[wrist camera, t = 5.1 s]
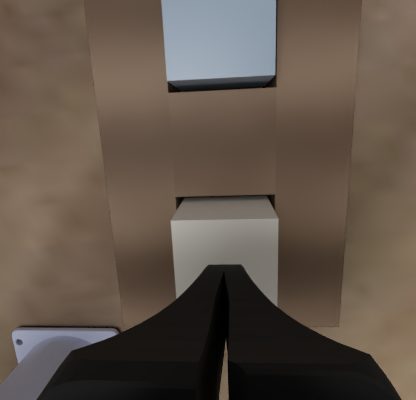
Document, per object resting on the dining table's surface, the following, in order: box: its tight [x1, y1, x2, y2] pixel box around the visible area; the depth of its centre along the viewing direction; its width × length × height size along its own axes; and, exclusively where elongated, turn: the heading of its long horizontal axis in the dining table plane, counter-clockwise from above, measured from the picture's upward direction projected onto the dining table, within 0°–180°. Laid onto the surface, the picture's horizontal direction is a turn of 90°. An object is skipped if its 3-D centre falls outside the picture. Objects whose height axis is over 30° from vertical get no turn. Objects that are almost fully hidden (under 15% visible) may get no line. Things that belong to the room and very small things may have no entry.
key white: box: [171, 196, 279, 306], centre depth 15 cm, size 4×4×4 cm
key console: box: [84, 0, 362, 327], centre depth 17 cm, size 20×12×4 cm, turn 2°
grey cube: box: [161, 0, 276, 91], centre depth 14 cm, size 4×4×4 cm
